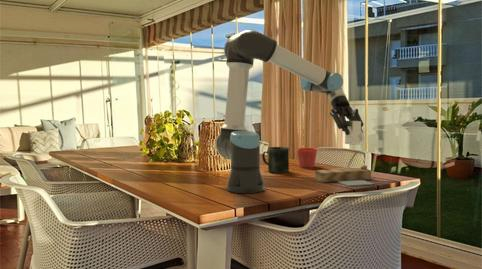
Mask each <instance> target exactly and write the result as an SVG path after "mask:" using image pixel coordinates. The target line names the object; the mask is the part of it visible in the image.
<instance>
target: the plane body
mask: <svg viewBox="0 0 482 269" xmlns="http://www.w3.org/2000/svg"><path fill="white" fill-rule="evenodd" d="M314 174H315V175H314V176H315V177H314V180H316V181H318V182H321V183H329V182H331V183H332V182H338V181H352V180H362V179H363V180H371V179H372V170H371V169H368V165H365V164H363V165H361V164H360V167H354V168H340V169H337V168H334V169H320V170H319V169H318V170H315V173H314Z"/></svg>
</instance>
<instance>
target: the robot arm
mask: <svg viewBox="0 0 482 269" xmlns="http://www.w3.org/2000/svg"><path fill="white" fill-rule="evenodd" d="M223 51H224V52H223V53H224V55H225V57H226V62H225V63H226V66H227V67H228V79H227V80H228V81H227V92H226V101H225V103H226V105H225V115H224V124H222V125H221V126H220V128H219V135H218V136H217V137H216V141H215V148H216V151H217V153H218V154H219V155H220V156H221V157H223V158H224V159H227V160H230V172H229V176H228V179H227V181H226V190H227V191H228V192H230V193H235V194H256V193H259V192H263V191H265V182H264V180H263V176H262V174H261V167H260V166H261V164H260V163H261V162H260V161H261V159H260V158H261V152H260V150H261V148H260V144H261V142H260V135H259V134H258V133H257V132H255V131H252V130H251V131H249V130H248V128H247V127H246V126H245V121H246V110H247V101H248V100H247V98H248V90H249V78H250V70H251V69H252V68H253V67H254V63H255V62H254V61H255V60H259V61H262V62H264V63H271V64H273V65H275V66H277V67H280V69H283V70H286V71H287V72H290V73H291V74H293V75H295V76H297V77H300V87H301V89H302V90H303V91H307V92H314V93H321V94H326V96H327V98H328V100H329V102H330V105H331V107H332V108H331V110H330V112H329V115H330V116H331V117H332V118H333V120H334V123H335V124H336V126H337V129H339V130H341V131H342V132H344V135H345V134H346V135H348V137H349V140H350V142H353V140H354V138H355V137H354V135H353V133H352V131H351V129H350V127H349V126H348V127H347V123H346V121H347V120H348V121H361V143H362V142H363V141H364V139H366V138H365V135H364V134H363V133H364V131H363V130H362V129H363V127H364V122H363V120H362V117H361V115H360V114H359V109H357V108H355V109H353V108H352V107H351V106H350V102H349V99H348V97H347V95H346V94H345V92H344V89H343V88H342V87H343V84H344V78H343V76H342V75H341V74H340V73H338V72H330V71H328V70H327V69H325V68H323V67H320V66H319V65H316V64H315V63H313V62H311V61H309V60H308V59H305V58H304V57H302V56H300V55H298V54H296V53H294V52H292V51H290V50H289V49H287V48H285V47H283V46H281V45H279V44H278V42H277V40H276V39H273V38H272V37H269V36H267V35H266V34H263V33H262V32H260V31H256V30H252V29H246V30H243V31H241V32H239V33H236V34H233V35H231V36H230V37H229V38H228V39H227V40H226V42H225V44H224V46H223ZM346 119H347V120H346Z"/></svg>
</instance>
